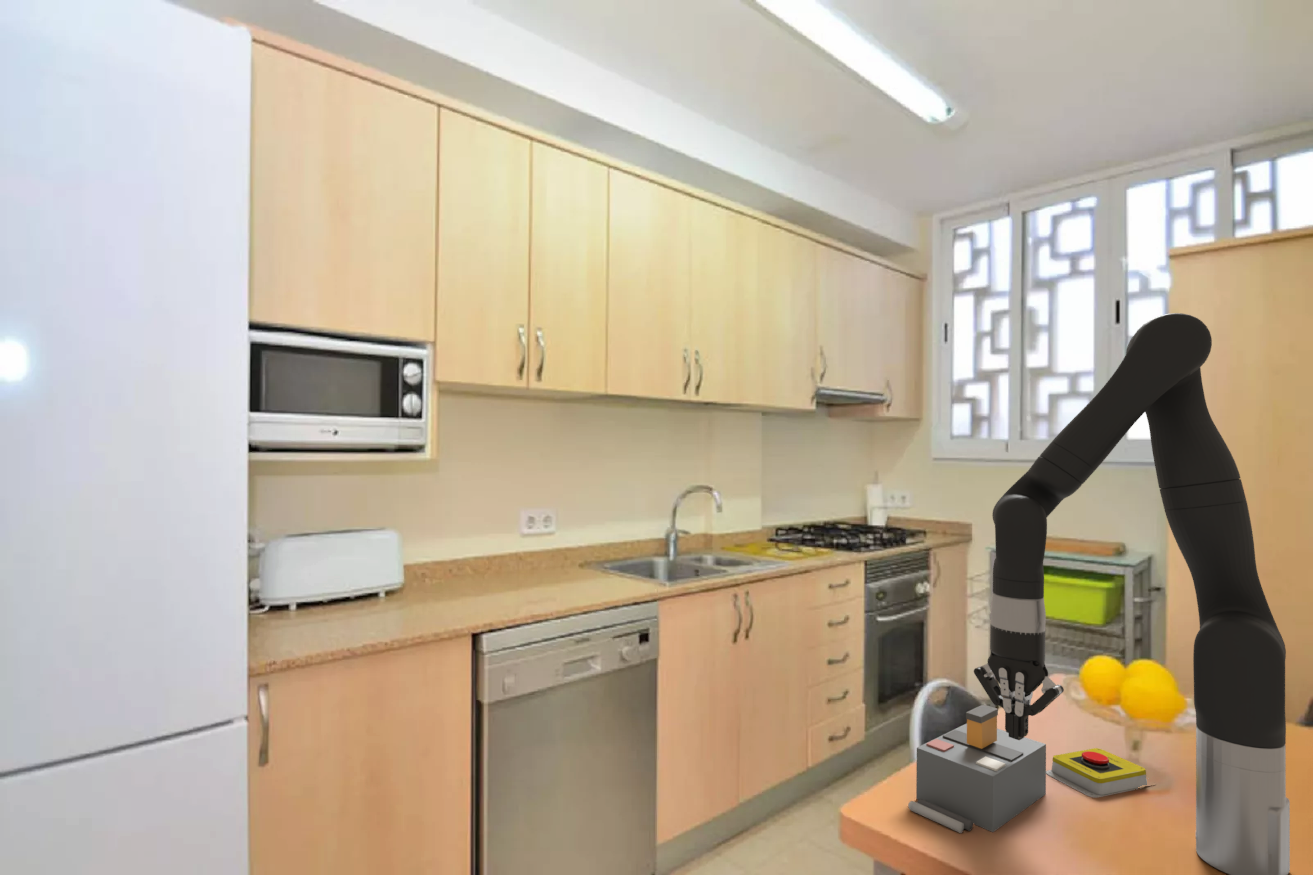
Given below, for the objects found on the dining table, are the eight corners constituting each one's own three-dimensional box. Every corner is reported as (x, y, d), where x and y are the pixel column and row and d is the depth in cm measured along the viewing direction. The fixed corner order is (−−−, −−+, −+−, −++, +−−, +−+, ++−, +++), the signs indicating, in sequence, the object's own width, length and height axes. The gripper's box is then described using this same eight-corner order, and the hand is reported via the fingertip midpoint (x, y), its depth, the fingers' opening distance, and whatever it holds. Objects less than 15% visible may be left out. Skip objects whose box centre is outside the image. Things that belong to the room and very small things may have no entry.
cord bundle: (972, 829, 100) (972, 819, 100) (962, 836, 98) (962, 826, 98) (917, 804, 107) (917, 795, 107) (906, 810, 105) (906, 801, 105)
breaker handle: (997, 740, 110) (997, 708, 111) (980, 749, 107) (981, 717, 107) (982, 735, 112) (983, 704, 112) (965, 744, 109) (966, 712, 109)
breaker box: (1045, 794, 110) (1045, 742, 111) (992, 832, 99) (993, 774, 99) (972, 766, 120) (972, 718, 120) (916, 798, 109) (916, 745, 109)
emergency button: (1042, 749, 118) (1106, 738, 123) (1042, 775, 118) (1106, 763, 123) (1092, 774, 109) (1159, 761, 114) (1092, 801, 109) (1159, 787, 114)
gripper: (1074, 630, 103) (1073, 746, 103) (986, 612, 113) (985, 718, 113) (1053, 638, 98) (1052, 760, 98) (963, 619, 108) (962, 729, 108)
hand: (1016, 737), depth 106 cm, fingers closed
